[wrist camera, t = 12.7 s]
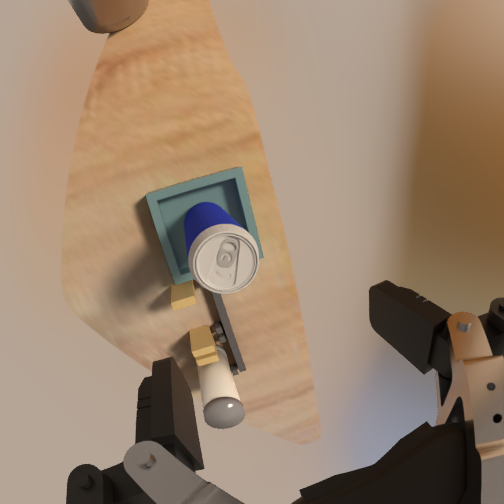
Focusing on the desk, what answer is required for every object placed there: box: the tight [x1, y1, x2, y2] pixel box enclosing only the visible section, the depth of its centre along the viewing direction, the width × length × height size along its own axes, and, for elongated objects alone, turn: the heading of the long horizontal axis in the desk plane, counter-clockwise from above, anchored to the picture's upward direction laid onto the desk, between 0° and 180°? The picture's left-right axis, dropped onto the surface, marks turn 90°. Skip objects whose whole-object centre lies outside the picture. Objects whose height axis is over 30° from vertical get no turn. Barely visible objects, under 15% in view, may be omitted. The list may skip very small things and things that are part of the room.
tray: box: [146, 167, 263, 285], centre depth 33 cm, size 11×11×3 cm
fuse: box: [195, 344, 245, 429], centre depth 34 cm, size 5×5×12 cm
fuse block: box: [171, 280, 246, 375], centre depth 36 cm, size 17×6×5 cm, turn 14°
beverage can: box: [184, 202, 259, 294], centre depth 26 cm, size 5×5×15 cm
